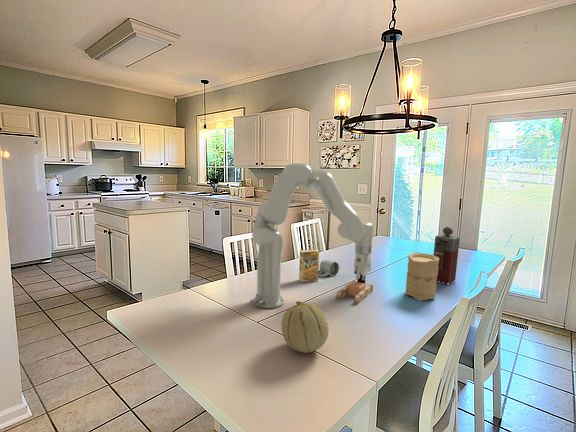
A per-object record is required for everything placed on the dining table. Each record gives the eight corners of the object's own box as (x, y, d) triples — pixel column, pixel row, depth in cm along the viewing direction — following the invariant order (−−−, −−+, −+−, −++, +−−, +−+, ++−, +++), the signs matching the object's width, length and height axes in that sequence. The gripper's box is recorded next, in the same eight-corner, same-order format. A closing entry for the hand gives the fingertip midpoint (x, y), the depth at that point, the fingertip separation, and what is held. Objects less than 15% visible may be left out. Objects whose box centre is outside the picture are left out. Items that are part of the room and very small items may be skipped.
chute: (358, 304, 136) (358, 297, 136) (336, 298, 142) (336, 291, 141) (372, 291, 151) (373, 284, 151) (352, 286, 157) (353, 280, 156)
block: (360, 297, 143) (360, 287, 143) (347, 294, 147) (347, 284, 146) (365, 293, 148) (365, 283, 148) (352, 290, 152) (353, 280, 151)
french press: (429, 281, 166) (434, 227, 162) (437, 276, 174) (442, 224, 170) (447, 286, 160) (453, 229, 156) (455, 280, 168) (461, 227, 163)
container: (428, 303, 139) (432, 262, 136) (400, 295, 147) (403, 256, 144) (439, 295, 148) (443, 257, 145) (412, 288, 156) (415, 251, 153)
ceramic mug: (327, 270, 179) (327, 257, 178) (339, 274, 173) (339, 260, 172) (314, 275, 172) (314, 260, 171) (325, 279, 166) (326, 264, 165)
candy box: (301, 282, 160) (302, 252, 158) (298, 279, 164) (299, 250, 162) (318, 281, 163) (319, 251, 160) (315, 278, 167) (316, 249, 164)
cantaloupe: (323, 366, 93) (325, 317, 91) (274, 357, 97) (275, 310, 95) (331, 340, 108) (333, 297, 105) (288, 333, 111) (289, 291, 109)
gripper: (365, 254, 141) (362, 294, 144) (376, 247, 153) (374, 284, 156) (348, 251, 145) (346, 290, 148) (361, 244, 157) (359, 281, 160)
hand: (360, 287), depth 152 cm, fingers closed
